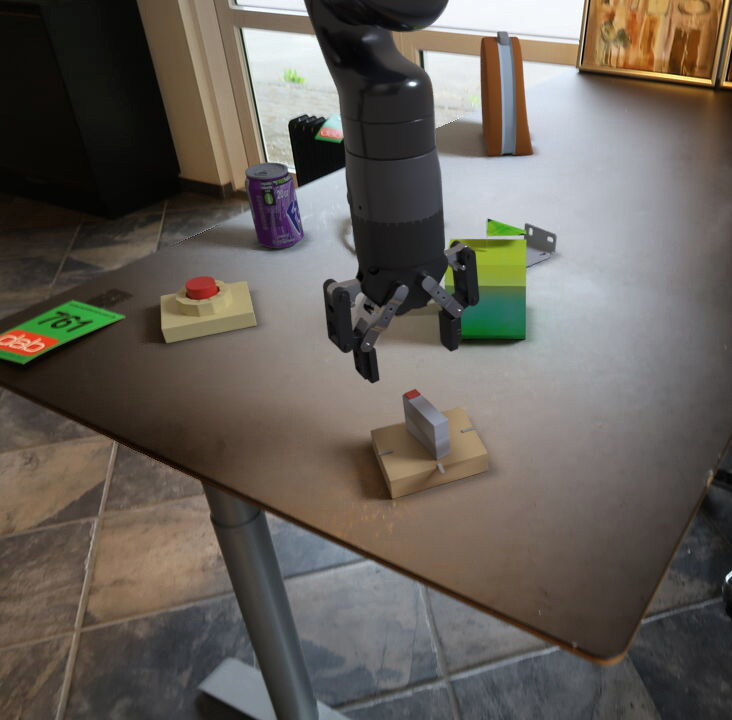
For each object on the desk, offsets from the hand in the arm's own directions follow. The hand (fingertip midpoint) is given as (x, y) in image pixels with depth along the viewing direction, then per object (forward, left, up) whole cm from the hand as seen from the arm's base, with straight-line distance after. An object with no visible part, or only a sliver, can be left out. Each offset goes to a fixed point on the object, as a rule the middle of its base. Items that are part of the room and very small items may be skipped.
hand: (411, 362), depth 67 cm
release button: (-18, +37, -8) cm, 42 cm away
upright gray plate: (+1, -1, -10) cm, 10 cm away
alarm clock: (+46, +88, -12) cm, 100 cm away
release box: (-18, +37, -12) cm, 43 cm away
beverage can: (-6, +57, -12) cm, 59 cm away
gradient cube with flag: (+16, +21, -12) cm, 29 cm away
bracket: (+28, +37, -12) cm, 48 cm away
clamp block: (+1, -1, -12) cm, 12 cm away
